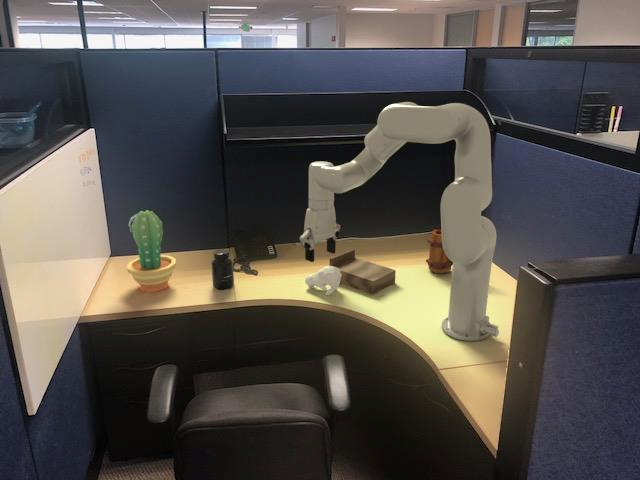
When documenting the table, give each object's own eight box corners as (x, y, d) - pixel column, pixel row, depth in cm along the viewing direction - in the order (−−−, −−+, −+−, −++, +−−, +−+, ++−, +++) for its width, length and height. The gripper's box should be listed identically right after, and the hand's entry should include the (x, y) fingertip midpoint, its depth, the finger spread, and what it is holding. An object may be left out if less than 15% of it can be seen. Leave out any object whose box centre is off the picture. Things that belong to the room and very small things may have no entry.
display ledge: (395, 282, 168) (396, 261, 166) (372, 294, 160) (373, 272, 158) (352, 268, 180) (352, 248, 178) (329, 279, 172) (329, 258, 169)
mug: (422, 272, 176) (424, 231, 171) (428, 264, 183) (431, 224, 178) (465, 280, 170) (469, 237, 165) (470, 271, 177) (474, 230, 172)
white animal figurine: (334, 271, 156) (299, 268, 161) (336, 297, 158) (302, 293, 164) (342, 264, 161) (308, 261, 166) (344, 289, 164) (311, 286, 169)
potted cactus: (172, 273, 178) (164, 203, 169) (184, 289, 165) (176, 214, 157) (125, 282, 171) (114, 209, 162) (134, 300, 158) (123, 222, 150)
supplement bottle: (229, 291, 163) (226, 256, 159) (209, 289, 165) (206, 254, 161) (237, 282, 170) (235, 248, 166) (218, 281, 171) (215, 247, 167)
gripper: (330, 195, 163) (330, 246, 169) (291, 206, 151) (292, 260, 157) (349, 200, 158) (347, 252, 164) (310, 212, 146) (310, 267, 152)
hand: (320, 256), depth 160 cm, fingers open, 9 cm apart
